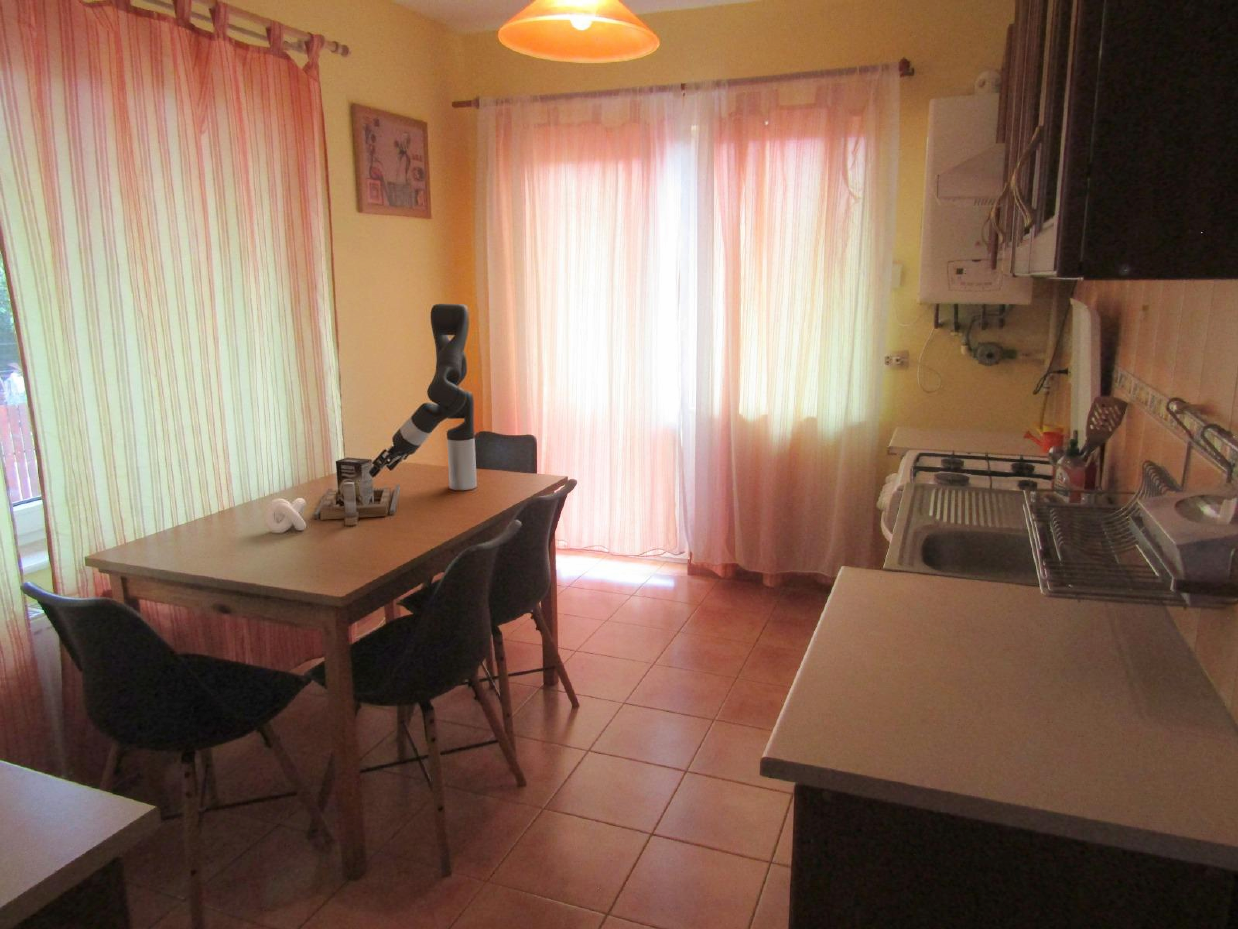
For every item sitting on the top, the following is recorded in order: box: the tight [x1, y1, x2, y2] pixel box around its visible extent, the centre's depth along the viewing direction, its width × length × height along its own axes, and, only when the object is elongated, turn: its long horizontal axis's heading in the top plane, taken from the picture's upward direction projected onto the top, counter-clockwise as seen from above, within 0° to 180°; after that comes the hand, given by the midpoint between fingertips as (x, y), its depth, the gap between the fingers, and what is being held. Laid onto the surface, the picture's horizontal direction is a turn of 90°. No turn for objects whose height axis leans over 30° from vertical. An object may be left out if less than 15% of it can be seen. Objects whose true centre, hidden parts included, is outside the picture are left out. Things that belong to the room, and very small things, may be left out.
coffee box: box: [335, 457, 375, 506], centre depth 268 cm, size 9×6×16 cm
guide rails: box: [313, 484, 401, 520], centre depth 277 cm, size 32×23×2 cm
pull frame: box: [320, 482, 392, 526], centre depth 266 cm, size 32×19×12 cm, turn 11°
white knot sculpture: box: [263, 497, 307, 534], centre depth 248 cm, size 11×12×9 cm
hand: (380, 471), depth 248 cm, fingers open, 8 cm apart
